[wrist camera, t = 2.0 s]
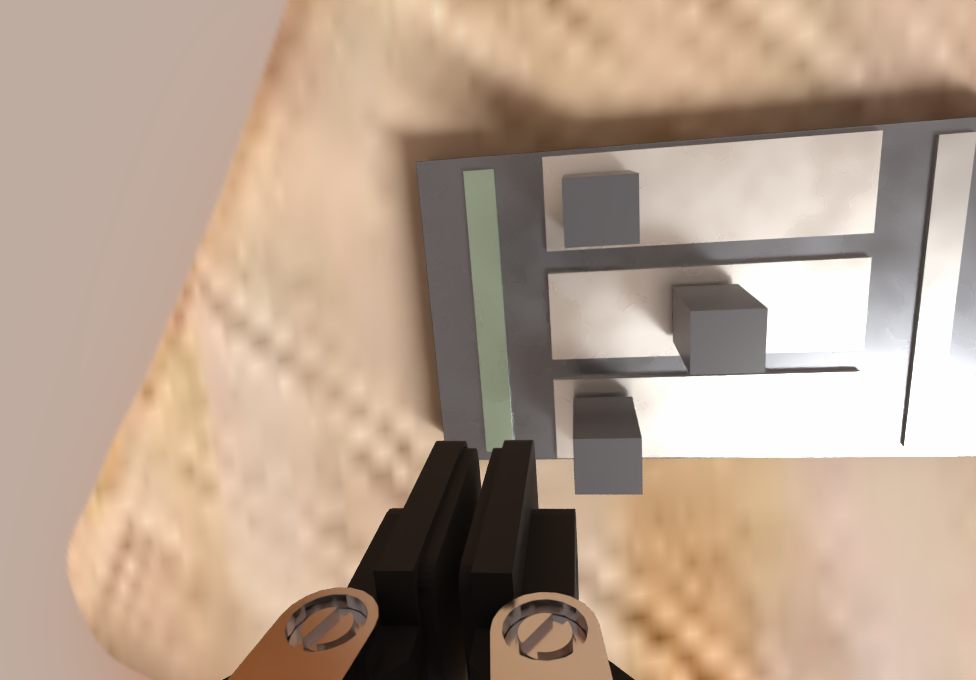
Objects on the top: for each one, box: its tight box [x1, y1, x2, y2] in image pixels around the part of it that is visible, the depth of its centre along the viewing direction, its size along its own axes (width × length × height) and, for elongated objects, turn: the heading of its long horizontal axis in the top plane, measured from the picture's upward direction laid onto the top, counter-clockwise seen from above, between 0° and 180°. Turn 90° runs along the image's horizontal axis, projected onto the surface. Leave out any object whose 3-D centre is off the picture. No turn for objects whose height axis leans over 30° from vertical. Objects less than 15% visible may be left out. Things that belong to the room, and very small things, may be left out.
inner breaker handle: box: [573, 397, 643, 494], centre depth 25 cm, size 2×2×4 cm
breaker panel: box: [416, 117, 976, 460], centre depth 26 cm, size 13×22×2 cm, turn 94°
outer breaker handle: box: [562, 170, 640, 248], centre depth 22 cm, size 2×2×4 cm
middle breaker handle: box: [673, 284, 768, 375], centre depth 23 cm, size 2×2×4 cm
